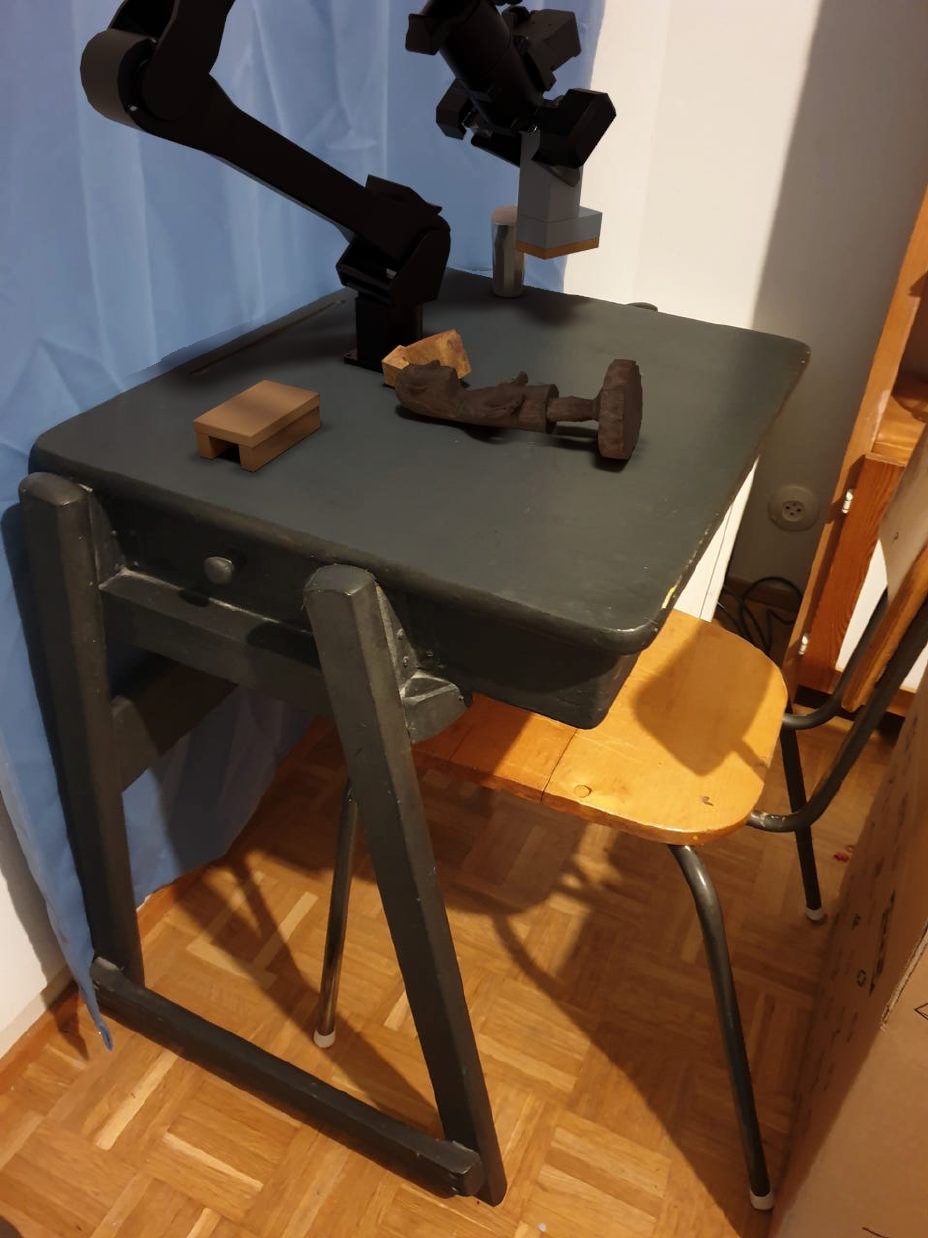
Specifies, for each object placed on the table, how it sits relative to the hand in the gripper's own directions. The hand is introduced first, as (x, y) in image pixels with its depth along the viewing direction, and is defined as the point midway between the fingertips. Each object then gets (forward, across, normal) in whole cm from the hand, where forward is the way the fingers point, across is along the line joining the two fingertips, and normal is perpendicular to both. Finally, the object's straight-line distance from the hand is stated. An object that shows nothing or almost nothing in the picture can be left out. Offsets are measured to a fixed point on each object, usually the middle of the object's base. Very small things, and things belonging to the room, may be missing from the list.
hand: (559, 178), depth 91 cm
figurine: (-6, -27, +20) cm, 34 cm away
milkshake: (+11, +8, +8) cm, 16 cm away
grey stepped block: (+5, 0, +4) cm, 7 cm away
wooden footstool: (-18, -8, +38) cm, 43 cm away
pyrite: (-7, -5, +23) cm, 24 cm away
